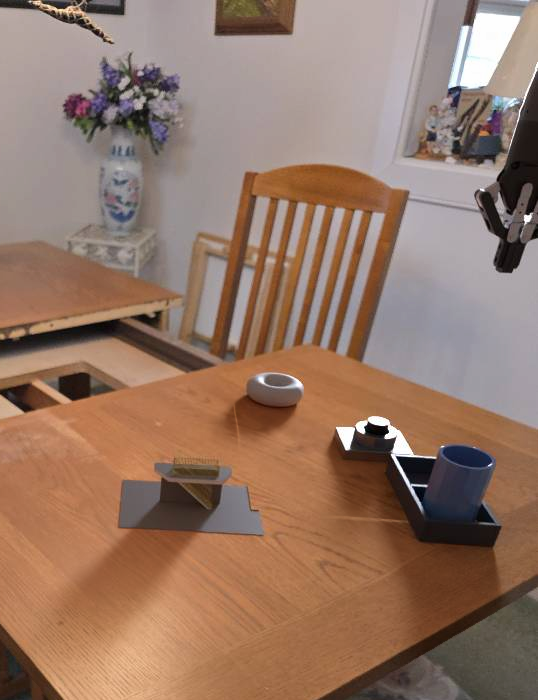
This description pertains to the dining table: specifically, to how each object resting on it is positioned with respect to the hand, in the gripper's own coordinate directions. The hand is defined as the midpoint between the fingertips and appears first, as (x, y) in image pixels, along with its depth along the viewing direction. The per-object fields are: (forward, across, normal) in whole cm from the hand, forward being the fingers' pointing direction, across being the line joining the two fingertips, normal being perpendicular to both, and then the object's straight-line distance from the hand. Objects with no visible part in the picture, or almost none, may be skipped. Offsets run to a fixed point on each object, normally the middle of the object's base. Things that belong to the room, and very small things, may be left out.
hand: (503, 271), depth 92 cm
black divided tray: (+27, -6, -16) cm, 32 cm away
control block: (+27, -11, 0) cm, 29 cm away
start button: (+24, -11, 0) cm, 26 cm away
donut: (+27, -24, +18) cm, 40 cm away
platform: (+27, -39, -20) cm, 52 cm away
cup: (+26, -6, -20) cm, 34 cm away
